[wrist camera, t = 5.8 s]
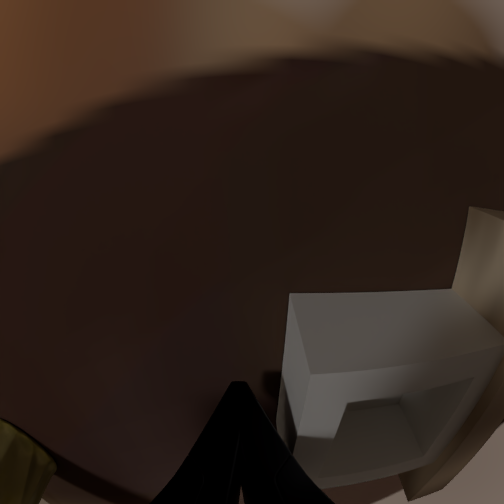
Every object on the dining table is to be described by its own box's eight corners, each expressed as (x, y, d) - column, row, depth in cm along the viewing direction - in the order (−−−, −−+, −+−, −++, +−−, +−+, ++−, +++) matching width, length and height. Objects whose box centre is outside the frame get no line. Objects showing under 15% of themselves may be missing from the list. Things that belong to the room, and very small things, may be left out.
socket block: (406, 405, 11) (433, 462, 8) (275, 420, 11) (282, 492, 8) (451, 288, 9) (509, 342, 6) (289, 293, 9) (310, 374, 6)
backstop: (417, 434, 12) (442, 489, 8) (386, 441, 12) (408, 501, 8) (503, 211, 8) (581, 248, 4) (469, 206, 8) (556, 246, 4)
